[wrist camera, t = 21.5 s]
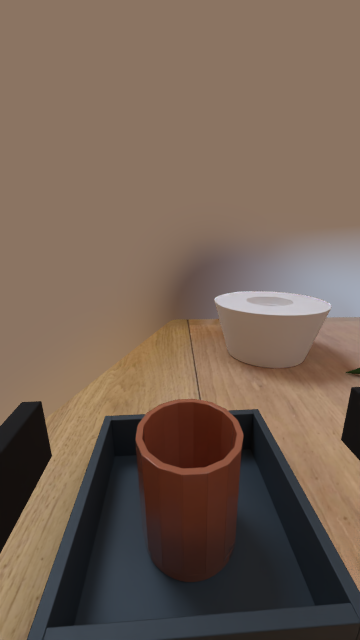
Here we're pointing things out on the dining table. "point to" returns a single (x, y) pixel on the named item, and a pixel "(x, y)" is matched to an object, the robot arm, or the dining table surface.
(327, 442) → the dining table surface
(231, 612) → the bin
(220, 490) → the cup
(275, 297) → the white tapered round pot
